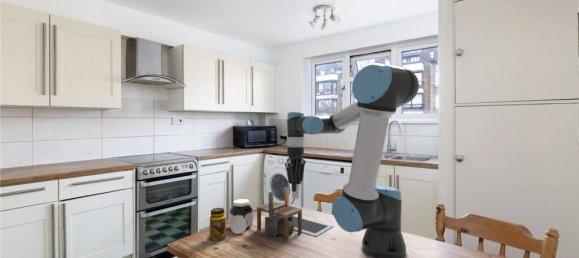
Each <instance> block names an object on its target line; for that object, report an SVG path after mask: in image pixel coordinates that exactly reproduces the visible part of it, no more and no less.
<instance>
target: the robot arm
mask: <svg viewBox="0 0 579 258" xmlns="http://www.w3.org/2000/svg"><path fill="white" fill-rule="evenodd" d="M419 82H420V81H419V79H418V77H417V75H416V73H415V72H413V71H412V70H410V69H408V68H405V67H402V66H401V67H399V66H395V65H390V64H384V63H369V64H366V65H364V66H363V67H362V68H361V69H359V70H358V71H357V73H356V74H355V76H354V78H353V80H352V84H351V92H352V94H353V97H354V99H355V100H356V101H355V102H353V103H352V104H350V105H348V106H346V107H344V108H342V109H341V110H339V111H337V112H335V113H333V114H331V115H328V116H327V115H325V116H324V115H322V116H321V115H320V116H319V115H305V113H304V112H302V111H289V112H288V113H287V115H286V116H287V120H286V131H287V132H286V133H287V134H286V136H287V138H286V139H287V143H286V144H287V148H286V155H288V160H287V162H285V163H284V167H285V170H286V176H287V182H288V184H290V185H291V192H292V195H291V198H292V199H294V200H298V199H300V185H301V184H302V182H303V179H304V174H305V173H304V172H305V167H306V166H305V165H306V163H307V161H306V160H305V159H303V156H304V155H305V135H318V134H321V135H322V134H340V133H344V131H345V130H346V128H348V127H351V126H352V125H353V126H354V125H355V124H357V123H358V127H357V132H356V137H355V144H354V148H353V149H354V150H353V155H352V162H351V167H350V173H349V177H348V182H347V183H345V184H344V185H343V186H342V192H341V194H340V195H341V196H337V197H336V198H335V199H334V200H333V202H332V206H331V207H332V215H333V217H334V219H335V221H336V223H337V224H338V226H339V227H340V228H341V229H342V230H343V231H345V232H347V233H356V232H361V231H363V230H365V231H364V235H363V237H362V241H361V247H362V248H361V249H362V250H363V251H364V253H366V254H368V255H369V256H372V257H374V258H405V257H406V255H407V246H406V242H405V238H404V236H403V233H402V202H403V200H402V192H401V190H399V189H398V188H396V187H391V186H387V185H382V184H381V185H380V184H377V181H378V175H379V173H380V172H379V170H380V166H381V162H382V160H381V159H382V156H383V152H384V145H385V141H386V136H387V130H388V126H389V121H390V117H391V116H393V115H394V114H396V112H397V108H400V107H401V106H404V105H406V104H408V103H410V102H411V101H413V100H414V99H415V98H416V96H417V95H418V92H419V88H420V83H419Z"/></svg>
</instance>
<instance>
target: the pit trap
mask: <svg viewBox="0 0 579 258" xmlns="http://www.w3.org/2000/svg"><path fill="white" fill-rule="evenodd" d="M293 224H294V231H297V232H298V215H297V214H296V215H293ZM333 228H334V225H331V224H328V223H324V222H321V221H317V220H315V219H314V220H313V219H309V218H307V217H303V216H302V234H306V235H310V236H311V237H315V238H318V237H319V236H321V235H322V234H323V233H326V232H328V231H329V230H331V229H333Z"/></svg>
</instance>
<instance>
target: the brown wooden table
mask: <svg viewBox="0 0 579 258" xmlns="http://www.w3.org/2000/svg"><path fill="white" fill-rule="evenodd" d="M262 212H263V213H267V214H269V202H268V203H265V204H262V205H259V206H256V230H257V231H258V232H260V231H262ZM293 215H296V216H298V231H297V234H299V235H301V234H303V232H302V217H303V209H302V208H300V207H295V206H291V205H289V206H287V207H285V203H281V202H276V201H273V216H280V217H283V218H284V235H283V238H284V240H283V241H284V242H288V241H289V235H288V218H289V217H291V216H293Z"/></svg>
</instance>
